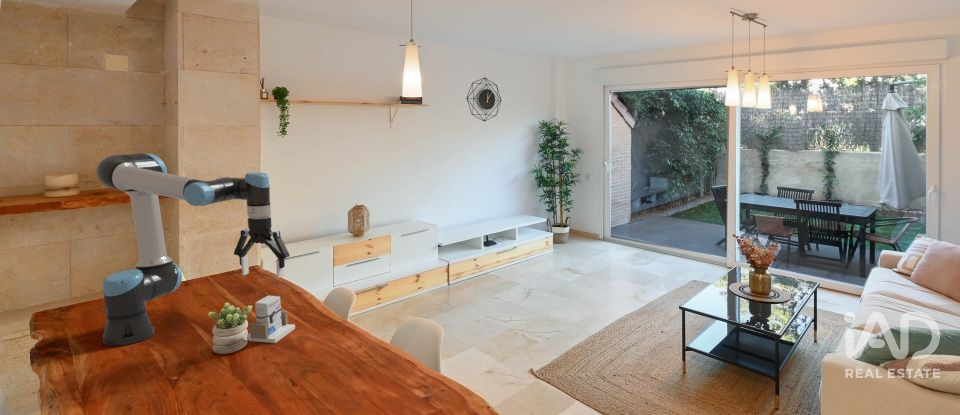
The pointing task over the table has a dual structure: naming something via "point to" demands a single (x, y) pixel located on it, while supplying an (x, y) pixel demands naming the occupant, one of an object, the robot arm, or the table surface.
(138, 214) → the robot arm
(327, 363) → the table surface
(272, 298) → the ink box
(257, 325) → the stand
